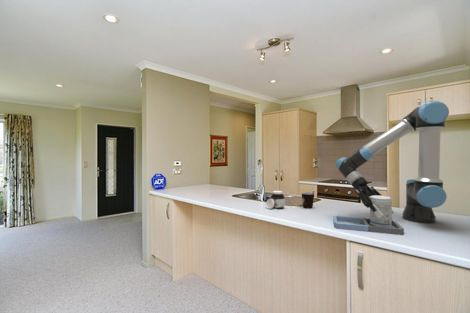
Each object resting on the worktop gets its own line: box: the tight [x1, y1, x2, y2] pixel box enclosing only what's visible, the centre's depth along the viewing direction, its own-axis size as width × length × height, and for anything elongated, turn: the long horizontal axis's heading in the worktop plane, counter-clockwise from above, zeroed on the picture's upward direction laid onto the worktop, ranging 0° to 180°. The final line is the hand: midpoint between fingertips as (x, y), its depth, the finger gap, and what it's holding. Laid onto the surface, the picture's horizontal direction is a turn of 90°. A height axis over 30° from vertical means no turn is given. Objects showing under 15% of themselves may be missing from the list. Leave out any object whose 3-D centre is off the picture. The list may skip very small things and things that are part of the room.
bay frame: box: [332, 215, 405, 236], centre depth 125 cm, size 30×16×2 cm, turn 70°
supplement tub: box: [369, 195, 393, 228], centre depth 123 cm, size 10×10×15 cm
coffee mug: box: [301, 192, 315, 210], centre depth 170 cm, size 12×9×10 cm
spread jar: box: [265, 190, 286, 210], centre depth 167 cm, size 12×11×12 cm
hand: (386, 215), depth 120 cm, fingers closed on supplement tub, 9 cm apart
